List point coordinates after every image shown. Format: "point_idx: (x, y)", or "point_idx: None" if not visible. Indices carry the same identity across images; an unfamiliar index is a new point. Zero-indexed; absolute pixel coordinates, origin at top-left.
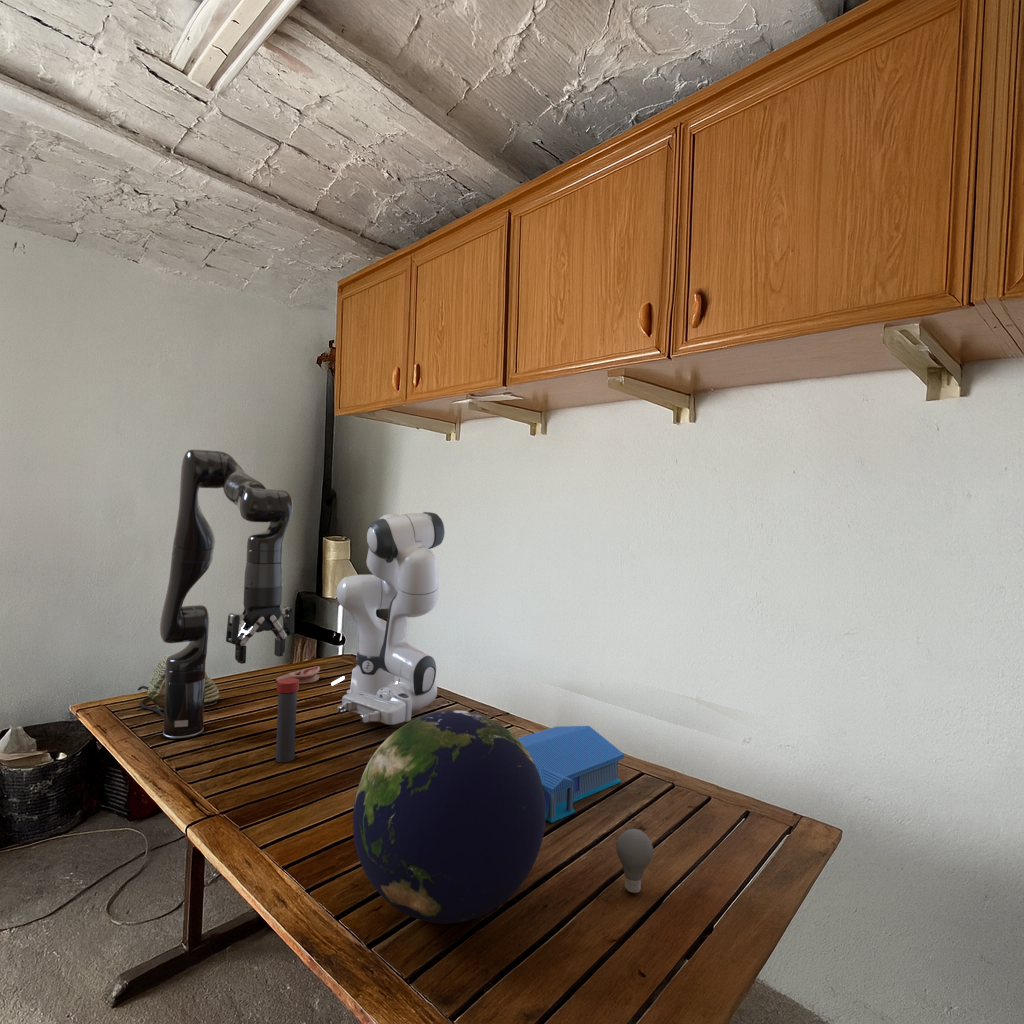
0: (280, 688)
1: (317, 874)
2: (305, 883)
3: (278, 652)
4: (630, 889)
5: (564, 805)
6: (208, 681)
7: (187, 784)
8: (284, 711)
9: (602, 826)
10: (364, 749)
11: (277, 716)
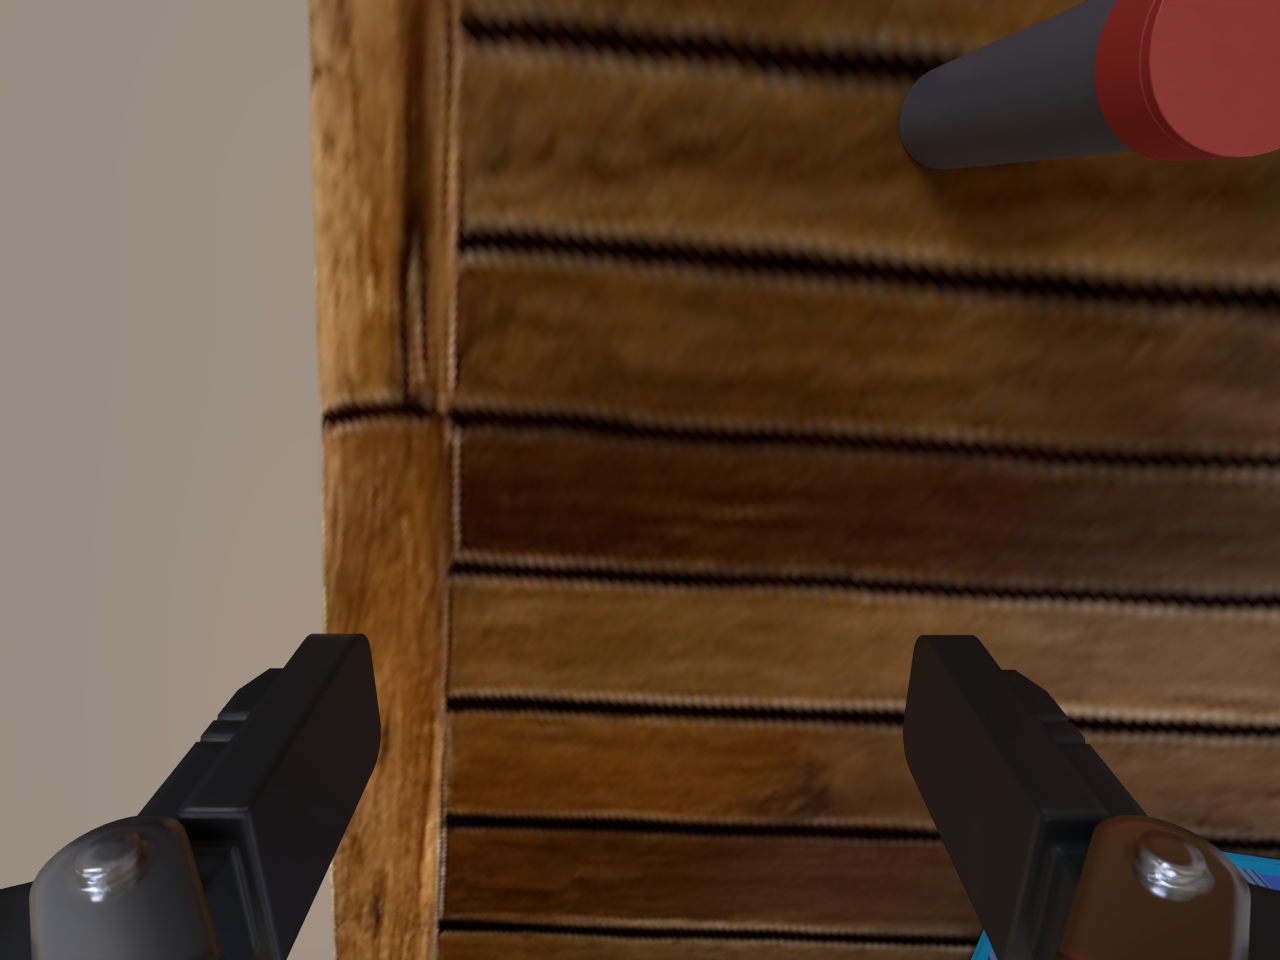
0: (1116, 76)
1: (496, 894)
2: (453, 901)
3: (925, 751)
4: None
5: None
6: None
7: (453, 34)
8: (1035, 130)
9: None
10: (1268, 320)
11: (1014, 50)
